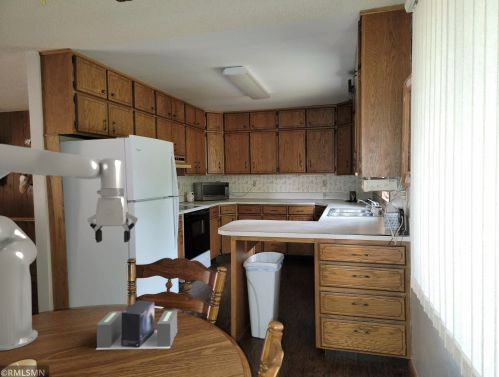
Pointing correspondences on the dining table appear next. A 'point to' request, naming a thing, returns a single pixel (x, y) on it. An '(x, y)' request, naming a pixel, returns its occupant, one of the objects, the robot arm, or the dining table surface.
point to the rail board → (148, 344)
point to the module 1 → (109, 329)
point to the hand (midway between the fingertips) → (112, 241)
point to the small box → (137, 323)
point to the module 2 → (166, 328)
